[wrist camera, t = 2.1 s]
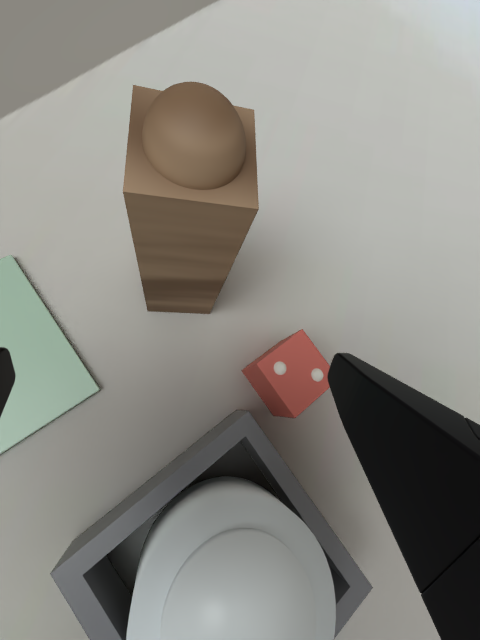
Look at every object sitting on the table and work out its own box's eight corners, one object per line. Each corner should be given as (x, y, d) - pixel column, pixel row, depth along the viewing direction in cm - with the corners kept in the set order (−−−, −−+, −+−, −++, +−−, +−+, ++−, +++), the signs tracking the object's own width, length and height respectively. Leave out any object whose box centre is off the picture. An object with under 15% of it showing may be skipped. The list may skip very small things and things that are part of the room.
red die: (311, 383, 23) (341, 378, 19) (273, 415, 22) (297, 418, 18) (280, 340, 24) (304, 327, 20) (241, 370, 22) (257, 363, 18)
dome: (327, 572, 18) (381, 628, 14) (201, 722, 15) (216, 860, 10) (238, 443, 19) (261, 455, 14) (101, 560, 16) (74, 623, 11)
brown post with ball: (209, 313, 23) (275, 172, 9) (147, 311, 22) (113, 145, 8) (209, 259, 24) (268, 60, 10) (151, 254, 23) (126, 25, 9)
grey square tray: (339, 557, 20) (372, 587, 17) (191, 734, 16) (197, 819, 13) (236, 410, 21) (248, 411, 18) (72, 541, 17) (50, 573, 14)
